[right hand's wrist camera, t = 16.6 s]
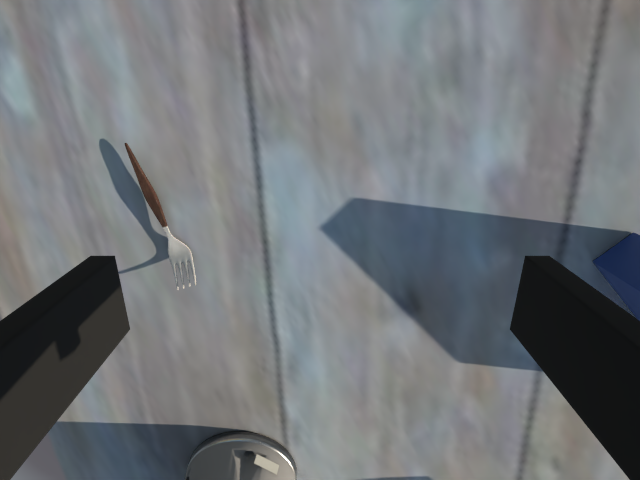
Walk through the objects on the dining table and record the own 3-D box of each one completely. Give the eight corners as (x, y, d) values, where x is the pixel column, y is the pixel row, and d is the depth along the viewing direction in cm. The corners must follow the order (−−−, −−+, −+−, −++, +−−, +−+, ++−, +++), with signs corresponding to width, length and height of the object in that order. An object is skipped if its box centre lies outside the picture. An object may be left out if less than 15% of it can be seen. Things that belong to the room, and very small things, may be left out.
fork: (139, 138, 38) (130, 141, 36) (202, 276, 44) (197, 284, 42) (116, 146, 39) (105, 149, 37) (181, 282, 44) (175, 290, 42)
